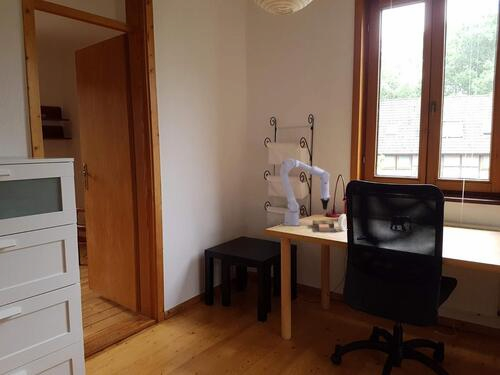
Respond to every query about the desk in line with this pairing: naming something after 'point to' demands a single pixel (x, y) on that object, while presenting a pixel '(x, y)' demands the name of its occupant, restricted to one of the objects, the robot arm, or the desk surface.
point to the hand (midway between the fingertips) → (324, 209)
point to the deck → (317, 222)
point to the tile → (324, 227)
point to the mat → (324, 231)
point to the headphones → (342, 222)
